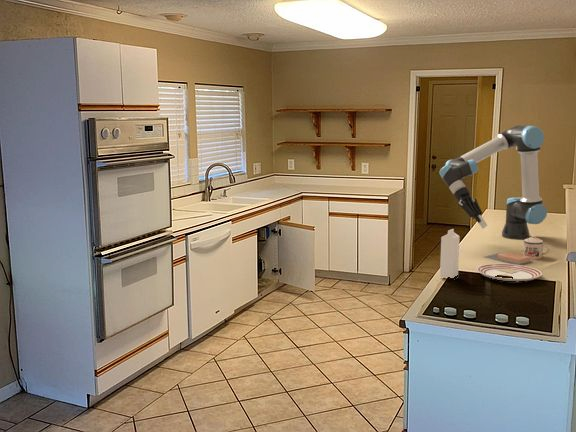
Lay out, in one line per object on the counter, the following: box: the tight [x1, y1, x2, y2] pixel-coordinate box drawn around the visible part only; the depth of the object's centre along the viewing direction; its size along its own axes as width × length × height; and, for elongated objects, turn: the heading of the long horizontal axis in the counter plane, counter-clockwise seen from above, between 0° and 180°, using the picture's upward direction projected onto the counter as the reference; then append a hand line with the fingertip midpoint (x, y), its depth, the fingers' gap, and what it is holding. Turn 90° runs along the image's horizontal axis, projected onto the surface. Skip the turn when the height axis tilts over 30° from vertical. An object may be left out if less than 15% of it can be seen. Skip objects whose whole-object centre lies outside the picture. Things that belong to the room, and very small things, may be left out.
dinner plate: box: [476, 263, 543, 283], centre depth 263 cm, size 28×27×3 cm
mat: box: [483, 253, 534, 266], centre depth 290 cm, size 20×12×1 cm, turn 35°
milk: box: [439, 228, 461, 278], centre depth 261 cm, size 6×6×22 cm
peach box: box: [496, 251, 531, 265], centre depth 286 cm, size 2×9×12 cm
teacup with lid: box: [522, 235, 550, 260], centre depth 292 cm, size 12×9×12 cm
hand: (484, 226), depth 299 cm, fingers closed
